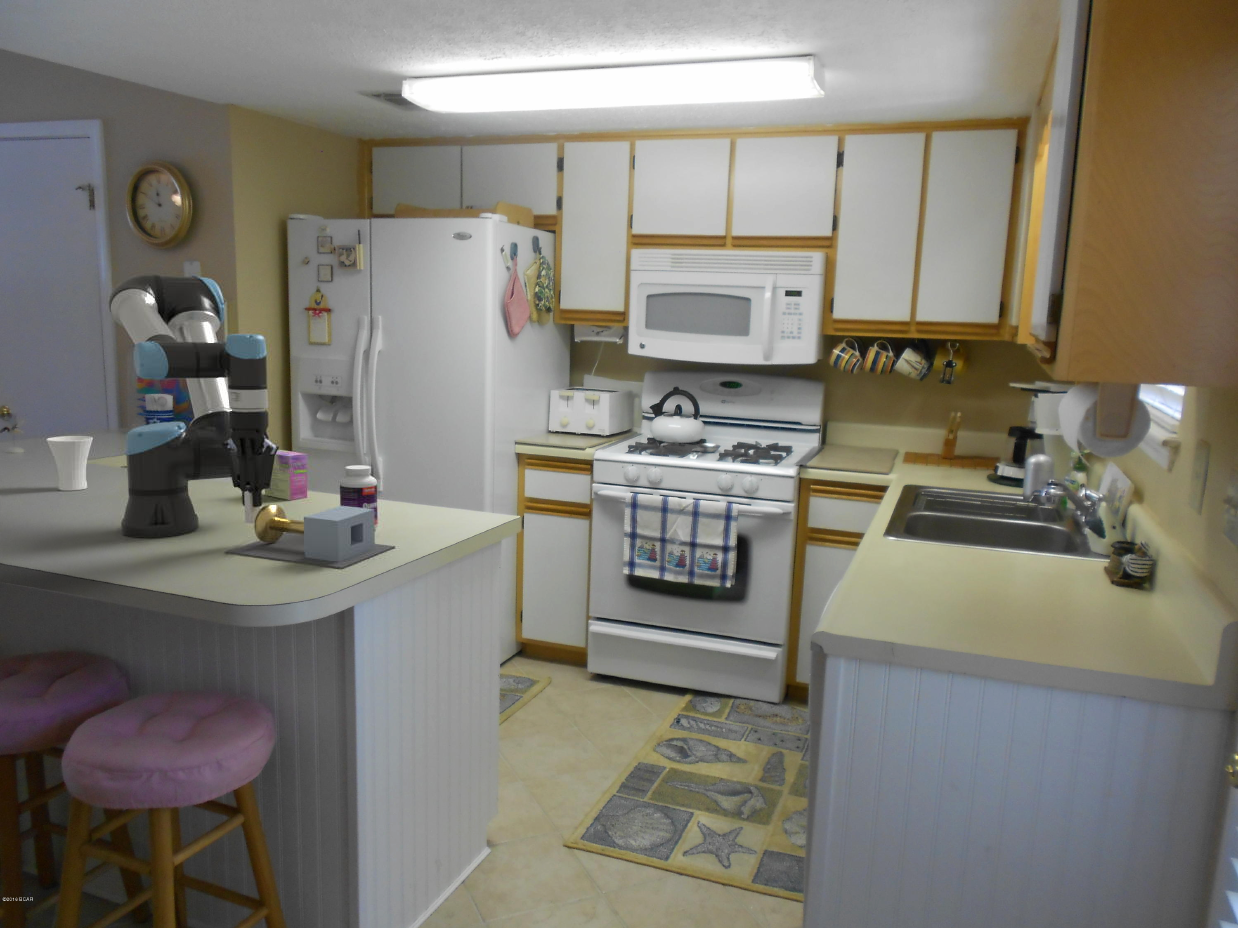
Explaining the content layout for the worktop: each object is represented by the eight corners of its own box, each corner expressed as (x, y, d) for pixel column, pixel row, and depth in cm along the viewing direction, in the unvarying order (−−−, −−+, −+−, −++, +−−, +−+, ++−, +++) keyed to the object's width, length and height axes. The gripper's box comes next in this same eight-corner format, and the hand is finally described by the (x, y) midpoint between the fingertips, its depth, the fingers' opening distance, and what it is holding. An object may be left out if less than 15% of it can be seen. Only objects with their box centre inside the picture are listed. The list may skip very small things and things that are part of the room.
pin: (255, 545, 184) (253, 508, 183) (280, 537, 191) (279, 501, 190) (329, 555, 178) (328, 517, 177) (352, 546, 185) (352, 509, 184)
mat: (225, 552, 180) (224, 551, 180) (285, 533, 197) (285, 532, 197) (342, 568, 171) (342, 567, 171) (395, 547, 188) (395, 546, 188)
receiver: (304, 558, 178) (303, 516, 176) (342, 545, 189) (341, 505, 188) (338, 563, 175) (337, 520, 174) (374, 549, 186) (374, 509, 185)
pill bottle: (367, 535, 198) (366, 471, 196) (333, 532, 199) (332, 468, 197) (384, 527, 206) (383, 465, 203) (351, 524, 207) (350, 463, 205)
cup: (80, 493, 233) (77, 441, 231) (40, 491, 233) (37, 440, 231) (104, 485, 244) (101, 436, 242) (66, 484, 244) (62, 435, 242)
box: (308, 497, 236) (307, 453, 234) (290, 500, 232) (288, 455, 230) (282, 492, 242) (281, 449, 240) (264, 495, 237) (263, 451, 235)
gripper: (209, 409, 183) (214, 522, 187) (261, 412, 179) (265, 528, 182) (236, 406, 190) (241, 515, 194) (286, 409, 186) (290, 521, 189)
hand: (252, 521), depth 188 cm, fingers closed
